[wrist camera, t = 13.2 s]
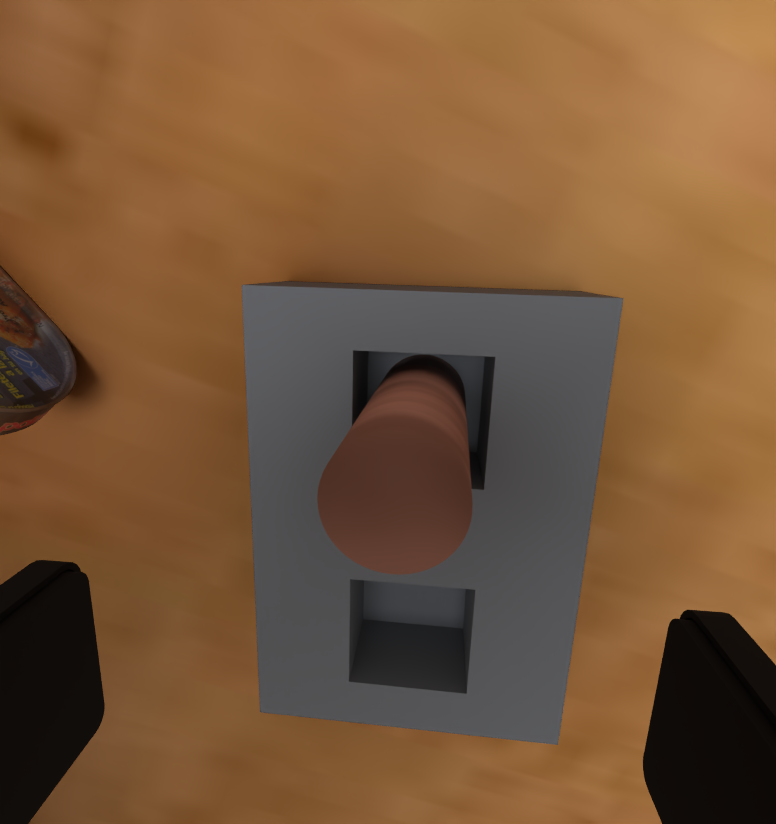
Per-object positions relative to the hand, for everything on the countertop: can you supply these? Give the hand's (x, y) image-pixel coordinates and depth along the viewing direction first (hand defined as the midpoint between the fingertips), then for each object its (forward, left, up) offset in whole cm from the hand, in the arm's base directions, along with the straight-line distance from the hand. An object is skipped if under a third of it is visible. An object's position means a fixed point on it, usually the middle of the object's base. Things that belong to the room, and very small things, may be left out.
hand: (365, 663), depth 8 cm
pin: (0, 0, -17) cm, 17 cm away
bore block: (-5, 0, -19) cm, 19 cm away
